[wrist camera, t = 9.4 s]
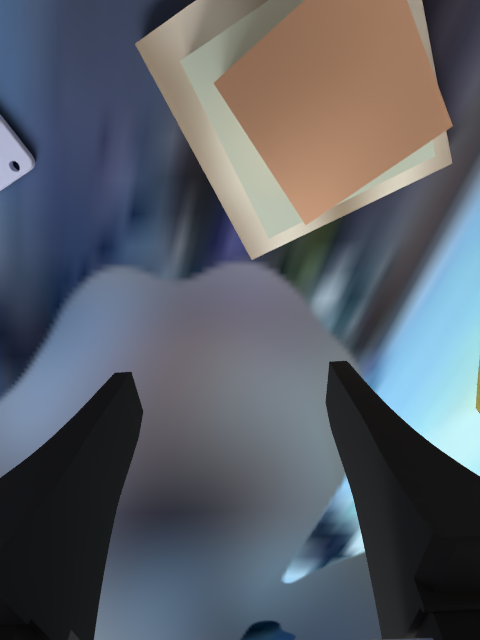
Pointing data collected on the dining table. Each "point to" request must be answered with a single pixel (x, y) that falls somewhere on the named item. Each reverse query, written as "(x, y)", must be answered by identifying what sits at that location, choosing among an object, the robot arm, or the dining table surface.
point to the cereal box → (478, 392)
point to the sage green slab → (237, 145)
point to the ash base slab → (164, 64)
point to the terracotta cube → (336, 98)
